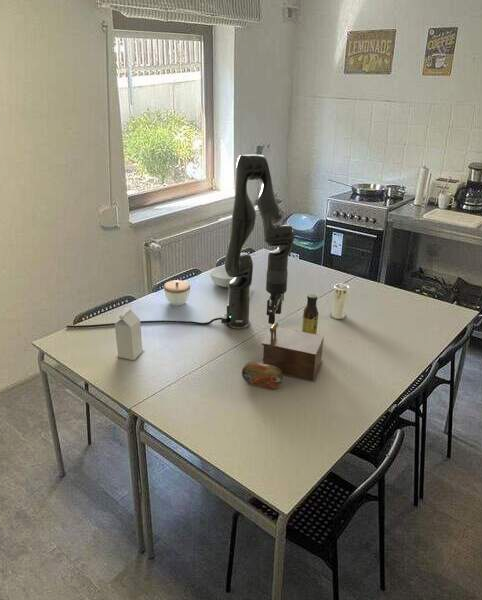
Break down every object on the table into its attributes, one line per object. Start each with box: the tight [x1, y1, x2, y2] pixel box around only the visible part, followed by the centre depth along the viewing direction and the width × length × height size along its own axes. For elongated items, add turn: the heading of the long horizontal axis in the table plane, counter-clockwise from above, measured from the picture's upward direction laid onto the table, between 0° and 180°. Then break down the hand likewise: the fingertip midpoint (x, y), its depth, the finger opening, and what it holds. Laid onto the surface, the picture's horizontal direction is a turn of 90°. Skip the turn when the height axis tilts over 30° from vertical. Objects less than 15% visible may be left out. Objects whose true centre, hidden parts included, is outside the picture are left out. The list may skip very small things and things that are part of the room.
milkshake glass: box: [331, 283, 350, 320], centre depth 224 cm, size 7×7×15 cm
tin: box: [241, 361, 284, 390], centre depth 177 cm, size 15×3×8 cm, turn 70°
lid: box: [261, 321, 325, 356], centre depth 184 cm, size 20×14×5 cm
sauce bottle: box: [301, 293, 319, 335], centre depth 204 cm, size 7×6×20 cm
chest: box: [262, 337, 325, 382], centre depth 187 cm, size 20×14×11 cm
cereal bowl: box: [210, 265, 235, 288], centre depth 256 cm, size 17×17×7 cm
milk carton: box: [114, 308, 143, 361], centre depth 191 cm, size 7×7×19 cm
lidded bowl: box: [163, 279, 191, 307], centre depth 235 cm, size 13×13×11 cm
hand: (274, 318), depth 184 cm, fingers open, 8 cm apart
